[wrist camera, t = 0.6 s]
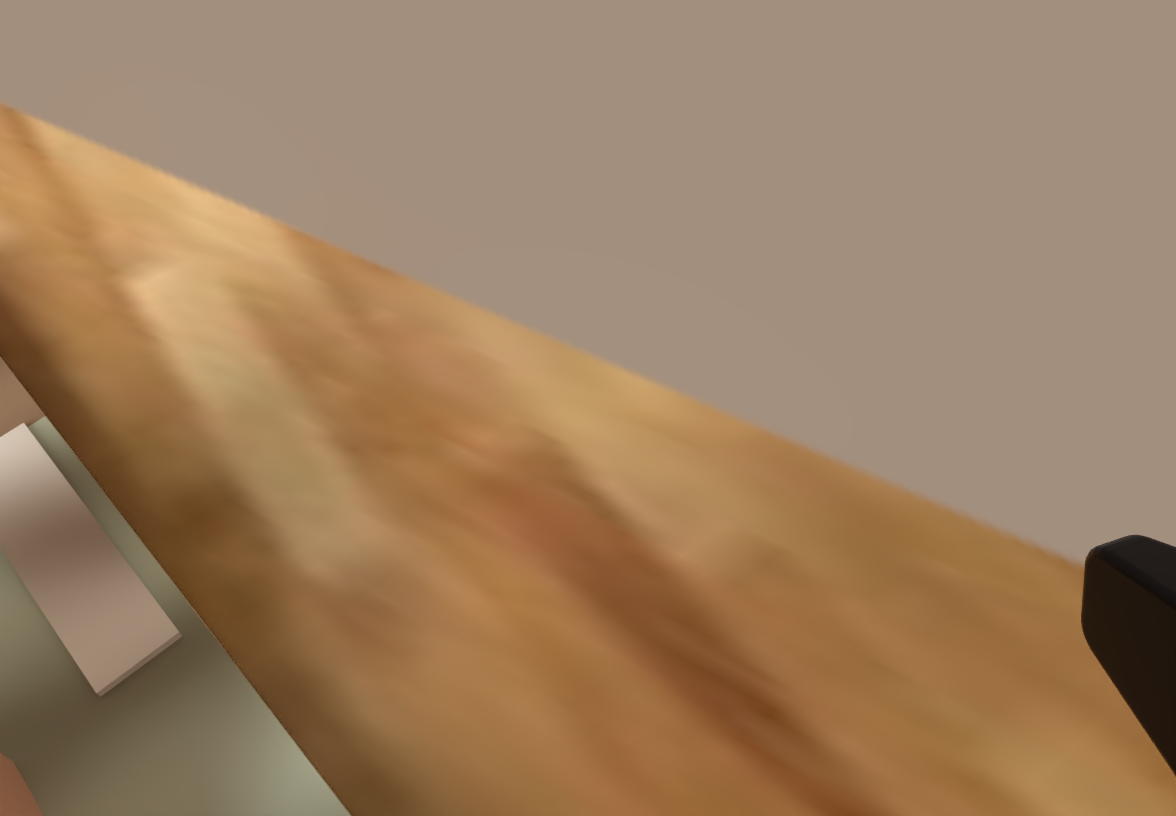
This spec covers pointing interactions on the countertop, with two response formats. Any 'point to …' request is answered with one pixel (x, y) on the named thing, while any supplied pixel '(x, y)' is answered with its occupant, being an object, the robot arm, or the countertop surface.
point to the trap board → (119, 659)
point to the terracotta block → (15, 792)
